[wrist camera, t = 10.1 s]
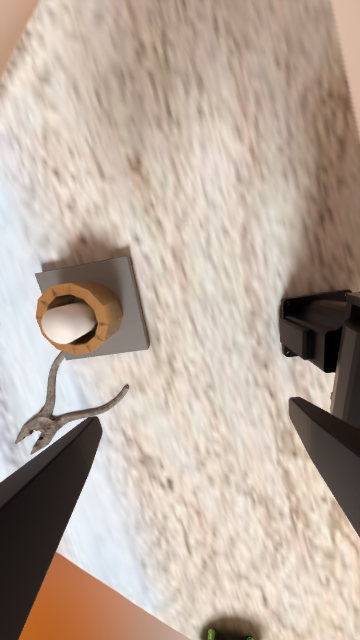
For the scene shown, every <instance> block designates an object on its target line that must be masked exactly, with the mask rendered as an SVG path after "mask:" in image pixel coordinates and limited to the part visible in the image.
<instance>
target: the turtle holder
mask: <svg viewBox="0 0 360 640" xmlns="http://www.w3.org/2000/svg"><path fill="white" fill-rule="evenodd" d="M208 640H215V630H214V629H213V628H210V629H209V630H208ZM246 640H254V639H253V638H252V637H248V638H247V639H246Z"/></svg>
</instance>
